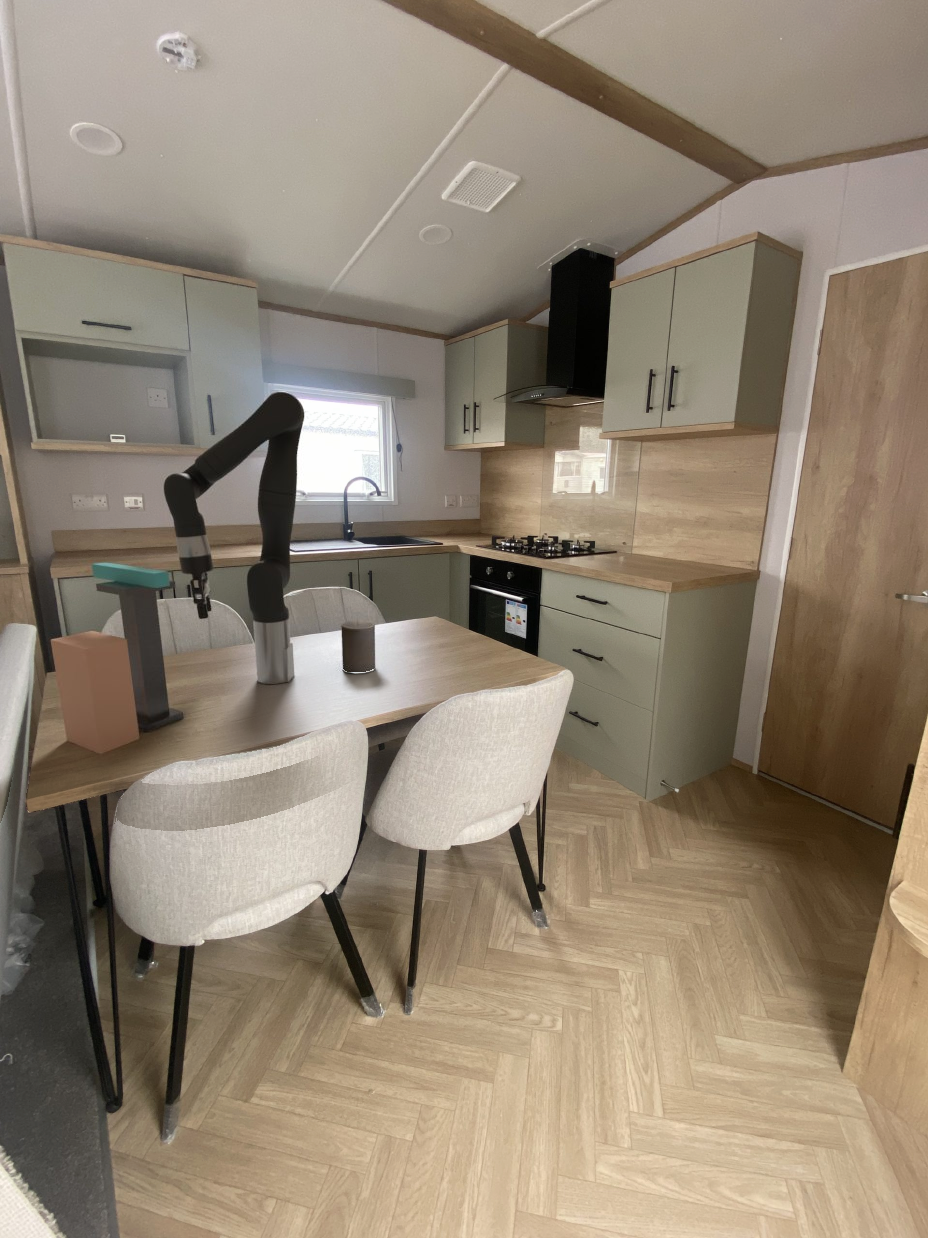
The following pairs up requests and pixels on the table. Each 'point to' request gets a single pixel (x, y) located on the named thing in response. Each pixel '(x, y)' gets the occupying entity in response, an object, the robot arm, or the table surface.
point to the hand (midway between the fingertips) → (205, 614)
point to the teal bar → (131, 574)
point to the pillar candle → (358, 646)
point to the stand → (144, 652)
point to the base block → (95, 690)
